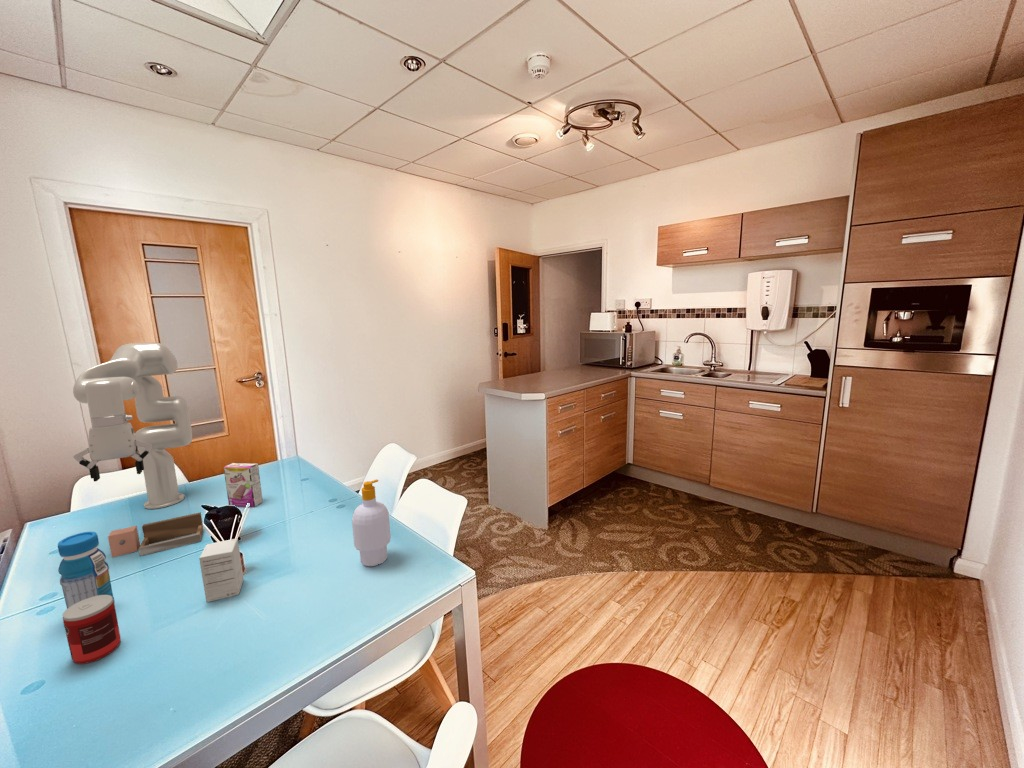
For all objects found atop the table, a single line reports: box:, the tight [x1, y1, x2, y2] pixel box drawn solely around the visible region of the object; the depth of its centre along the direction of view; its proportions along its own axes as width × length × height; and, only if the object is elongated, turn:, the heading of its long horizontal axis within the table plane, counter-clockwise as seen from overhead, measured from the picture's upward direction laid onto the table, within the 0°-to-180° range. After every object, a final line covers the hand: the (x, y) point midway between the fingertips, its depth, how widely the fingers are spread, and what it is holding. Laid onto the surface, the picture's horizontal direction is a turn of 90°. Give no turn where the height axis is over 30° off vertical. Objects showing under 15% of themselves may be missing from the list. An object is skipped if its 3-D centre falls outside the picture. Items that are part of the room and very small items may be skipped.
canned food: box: [62, 595, 122, 665], centre depth 90 cm, size 8×8×11 cm
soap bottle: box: [351, 479, 391, 567], centre depth 121 cm, size 10×10×24 cm
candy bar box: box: [223, 462, 264, 508], centre depth 162 cm, size 11×5×16 cm, turn 84°
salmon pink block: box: [107, 525, 141, 558], centre depth 130 cm, size 5×6×7 cm
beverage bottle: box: [57, 531, 116, 609], centre depth 102 cm, size 8×8×20 cm
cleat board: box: [138, 512, 204, 557], centre depth 135 cm, size 9×15×6 cm, turn 122°
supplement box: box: [199, 538, 244, 603], centre depth 110 cm, size 7×7×13 cm
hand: (118, 476), depth 125 cm, fingers open, 9 cm apart
